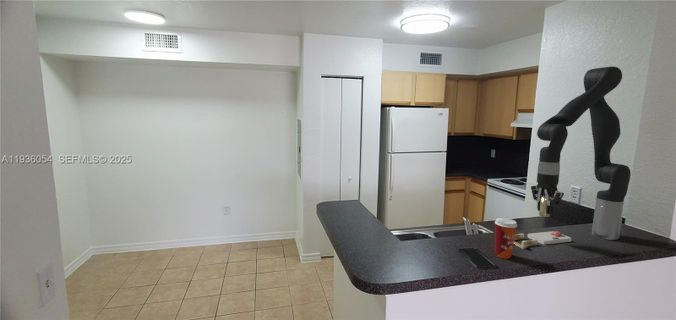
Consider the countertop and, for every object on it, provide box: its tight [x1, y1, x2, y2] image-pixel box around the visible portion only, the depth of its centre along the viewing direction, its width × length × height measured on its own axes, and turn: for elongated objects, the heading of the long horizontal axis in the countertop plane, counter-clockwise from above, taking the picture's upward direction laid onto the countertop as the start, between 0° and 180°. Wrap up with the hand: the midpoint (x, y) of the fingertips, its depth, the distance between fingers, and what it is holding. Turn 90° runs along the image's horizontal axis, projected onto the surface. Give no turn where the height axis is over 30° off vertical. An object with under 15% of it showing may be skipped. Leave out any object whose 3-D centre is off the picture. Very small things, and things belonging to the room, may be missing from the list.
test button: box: [553, 230, 563, 237], centre depth 135 cm, size 3×3×4 cm
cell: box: [538, 196, 551, 218], centre depth 131 cm, size 4×4×8 cm
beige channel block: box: [514, 233, 539, 250], centre depth 131 cm, size 7×8×3 cm
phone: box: [458, 247, 498, 270], centre depth 117 cm, size 8×1×15 cm
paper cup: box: [494, 217, 518, 260], centre depth 119 cm, size 8×8×14 cm
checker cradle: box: [527, 230, 572, 245], centre depth 134 cm, size 14×8×3 cm, turn 104°
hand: (544, 212), depth 131 cm, fingers closed on cell, 3 cm apart
